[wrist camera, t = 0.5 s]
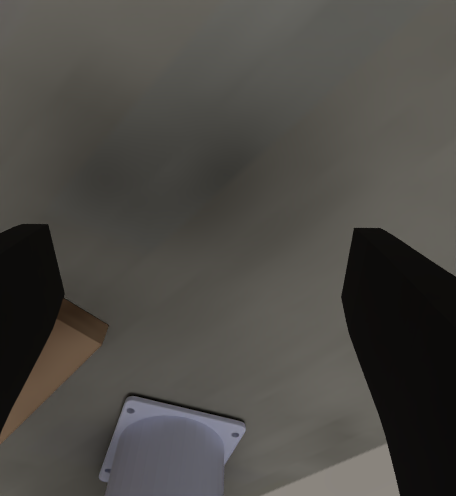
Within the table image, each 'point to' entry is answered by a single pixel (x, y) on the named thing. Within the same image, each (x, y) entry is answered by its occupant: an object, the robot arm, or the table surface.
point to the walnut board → (57, 360)
